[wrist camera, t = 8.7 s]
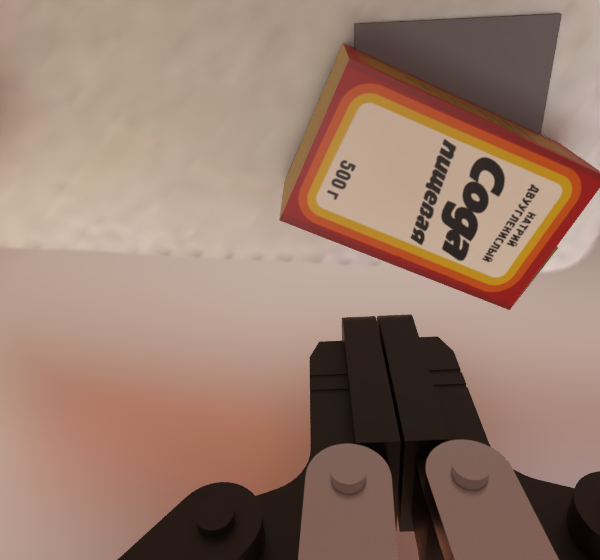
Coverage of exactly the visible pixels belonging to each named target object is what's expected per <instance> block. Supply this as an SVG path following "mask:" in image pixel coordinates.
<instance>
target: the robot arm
mask: <svg viewBox="0 0 600 560" xmlns="http://www.w3.org/2000/svg"><path fill="white" fill-rule="evenodd" d="M310 420H311V421H310V423H311V453H310V458H309V461H308V463H307V465H306V467H305V468H304V470H303V471H302V473H301V474H300V475H299V476H298V477H297V478H295V479H294V480H293V481H291V482H290V483H288V484H287V485H285V486H283V487H280V488H278V489H275V490H272V491H269V492H267V493H263V494H260V495H257V496H255V495H254V494H253V493H252V492H250V491H249V490H248V489H246V488H245V487H243V486H241V485H238V484H234V483H229V482H220V483H213V484H209V485H206V486H203V487H201V488H199V489H197V490H195V491H194V492H192V493H191V494H190V495H188V496H187V497H186V498H185V499H184V500H183V501H181V503H179V504H178V505H177V506H176V507H175V508H174V509H173V510H172V511H171V512H169V513H168V514H167V515H166V516H165V517H164V518H163V519H162V520H161V521H160V522H158V523H157V524H156V525H155V526H154V527H153V528H152V529H151V530H150V531H149V532H147V533H146V534H145V535H144V536H143V537H142V538H141V539H140V540H139V541H138V542H137V543H135V544H134V545H133V546H132V547H131V548H130V549H129V550H128V551H127V552H126V553H124V555H122V556H121V557H120V558H119V559H118V560H398V554H397V553H398V552H397V540H396V524H397V518H398V523H399V529H400V531H414V532H415V538H416V543H417V547H418V559H417V560H600V472H595V473H590V474H588V475H586V476H584V477H583V478H581V479H580V480H579V482H578V483H577V484H576V487H575V488H571V487H566V486H562V485H558V484H553V483H549V482H545V481H541V480H537V479H533V478H530V477H528V476H525V475H523V474H521V473H519V472H517V471H515V470H514V469H512V467H511V465H510V464H509V462H508V461H507V460H506V459H505V457H503V456H502V455H501V454H500V453H499V452H498V451H496V450H494V449H493V448H491V446H490V444H489V442H488V440H487V437H486V434H485V432H484V429H483V427H482V424H481V421H480V419H479V416H478V414H477V411H476V408H475V406H474V403H473V401H472V398H471V395H470V393H469V390H468V388H467V387H466V383H465V380H464V377H463V375H462V373H461V372H460V367H459V364H458V362H457V359H456V357H455V354H454V352H453V350H451V349H450V348H449V347H448V346H447V345H446V344H445V343H444V342H443V341H442V340H441V339H440V338H439V337H419V336H418V333H417V329H416V326H415V323H414V320H413V317H412V315H389V316H378V317H377V321H376V317H375V316H370V317H347V318H342V341H328V342H319V343H318V345H317V346H316V348H315V350H314V351H313V353H312V355H311V356H310Z"/></svg>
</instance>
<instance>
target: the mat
mask: <svg viewBox="0 0 600 560" xmlns="http://www.w3.org/2000/svg"><path fill="white" fill-rule="evenodd" d="M561 15H562V14H539V15H519V16H499V17H479V18H459V19H439V20H419V21H399V22H379V23H359V24H355V49H357V50H359V51H361V52H363V53H365V54H367V55H370V56H372V57H374V58H376V59H378V60H380V61H383V62H385V63H387V64H389V65H391V66H393V67H395V68H398V69H400V70H402V71H404V72H406V73H408V74H411V75H413V76H415V77H417V78H419V79H421V80H424V81H426V82H428V83H430V84H432V85H434V86H437V87H439V88H441V89H443V90H445V91H447V92H449V93H452V94H454V95H456V96H458V97H460V98H462V99H465V100H467V101H469V102H471V103H473V104H475V105H478V106H480V107H482V108H484V109H486V110H488V111H491V112H493V113H495V114H497V115H499V116H501V117H503V118H506V119H508V120H510V121H512V122H514V123H516V124H519V125H521V126H523V127H525V128H527V129H529V130H532V131H534V132H536V133H538V134H541V128H542V123H543V117H544V111H545V106H546V100H547V94H548V89H549V83H550V77H551V72H552V66H553V60H554V54H555V49H556V43H557V37H558V32H559V26H560V20H561Z"/></svg>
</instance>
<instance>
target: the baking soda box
mask: <svg viewBox="0 0 600 560" xmlns="http://www.w3.org/2000/svg"><path fill="white" fill-rule="evenodd" d="M599 188H600V171H598V170H597V169H596V168H594V167H593V166H591V165H590V164H588V163H587V162H586V161H584V160H583V159H581V158H580V157H578V156H577V155H576V154H574V153H573V152H571V151H570V150H568V149H567V148H566V147H564V146H563V145H561V144H560V143H558V142H555V141H553V140H551V139H549V138H547V137H545V136H542V135H540V134H538V133H536V132H534V131H532V130H529V129H527V128H525V127H523V126H521V125H519V124H516V123H514V122H512V121H510V120H508V119H506V118H503V117H501V116H499V115H497V114H495V113H493V112H491V111H488V110H486V109H484V108H482V107H480V106H478V105H475V104H473V103H471V102H469V101H467V100H465V99H462V98H460V97H458V96H456V95H454V94H452V93H449V92H447V91H445V90H443V89H441V88H439V87H437V86H434V85H432V84H430V83H428V82H426V81H424V80H421V79H419V78H417V77H415V76H413V75H411V74H408V73H406V72H404V71H402V70H400V69H398V68H395V67H393V66H391V65H389V64H387V63H385V62H383V61H380V60H378V59H376V58H374V57H372V56H370V55H367V54H365V53H363V52H361V51H359V50H357V49H354V48H352V47H350V46H348V45H346V44H344V43H343V44H342V47H341V49H340V52H339V54H338V56H337V59H336V61H335V63H334V66H333V68H332V70H331V73H330V75H329V78H328V80H327V82H326V85H325V87H324V89H323V92H322V94H321V97H320V99H319V101H318V104H317V106H316V108H315V111H314V113H313V116H312V118H311V120H310V123H309V125H308V127H307V130H306V132H305V135H304V137H303V139H302V142H301V144H300V146H299V149H298V151H297V154H296V156H295V158H294V161H293V163H292V165H291V168H290V170H289V173H288V175H287V177H286V180H285V183H284V190H283V197H282V205H281V212H280V221H283V222H285V223H288V224H290V225H293V226H296V227H298V228H301V229H303V230H306V231H308V232H311V233H313V234H316V235H319V236H321V237H324V238H326V239H329V240H331V241H334V242H337V243H339V244H342V245H344V246H347V247H349V248H352V249H354V250H357V251H360V252H362V253H365V254H367V255H370V256H372V257H375V258H378V259H380V260H383V261H385V262H388V263H390V264H393V265H396V266H398V267H401V268H403V269H406V270H408V271H411V272H414V273H416V274H419V275H421V276H424V277H426V278H429V279H432V280H434V281H437V282H439V283H442V284H444V285H447V286H450V287H452V288H454V289H457V290H460V291H462V292H465V293H467V294H470V295H472V296H475V297H478V298H480V299H483V300H485V301H488V302H490V303H493V304H496V305H498V306H501V307H503V308H506V309H508V310H510V309H511V307H512V306H513V305H514V304H515V302H516V301H517V300H518V298H519V297H520V296H521V295H522V293H523V292H524V291H525V289H526V288H527V287H528V286H529V284H530V283H531V282H532V281H533V279H534V278H535V277H536V275H537V274H538V273H539V272H540V270H541V269H542V268H543V267H544V265H545V264H546V263H547V261H548V260H549V259H550V258H551V256H552V255H553V254H554V253H555V251H556V250H557V249H558V247H557V245H558V244H559V242H560V241H561V240H562V238H563V237H564V236H565V234H566V233H567V231H568V230H569V229H570V227H571V226H572V225H573V223H574V222H575V221H576V219H577V218H578V217H579V215H580V214H581V213H582V211H583V210H584V208H585V207H586V206H587V204H588V203H589V202H590V200H591V199H592V198H593V196H594V195H595V194H596V192H597V191H598V189H599Z"/></svg>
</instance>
